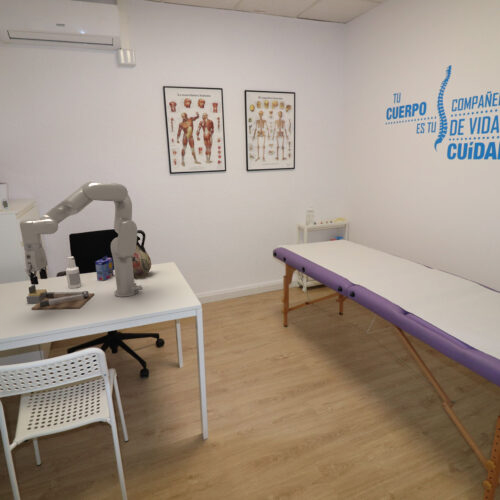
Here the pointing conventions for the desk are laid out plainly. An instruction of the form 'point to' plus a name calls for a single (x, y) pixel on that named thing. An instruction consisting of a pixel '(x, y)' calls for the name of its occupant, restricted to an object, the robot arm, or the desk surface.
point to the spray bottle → (72, 274)
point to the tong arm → (65, 299)
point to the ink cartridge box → (104, 268)
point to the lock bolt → (35, 291)
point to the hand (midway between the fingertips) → (39, 281)
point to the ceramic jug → (141, 258)
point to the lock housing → (36, 298)
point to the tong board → (64, 304)
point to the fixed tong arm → (61, 294)
